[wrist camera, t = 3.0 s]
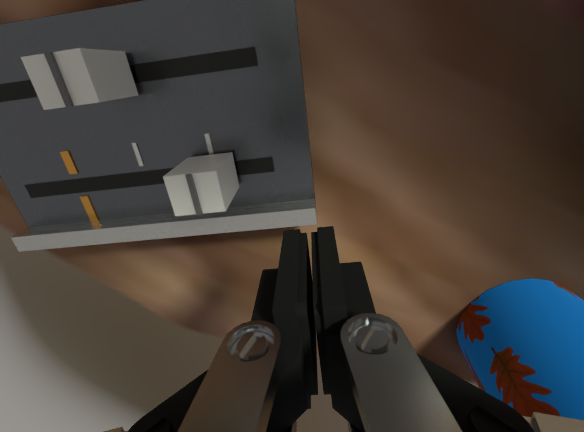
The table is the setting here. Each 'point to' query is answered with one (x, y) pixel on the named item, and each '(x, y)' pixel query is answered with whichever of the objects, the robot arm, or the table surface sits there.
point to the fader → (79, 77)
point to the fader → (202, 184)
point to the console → (158, 122)
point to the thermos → (527, 346)
